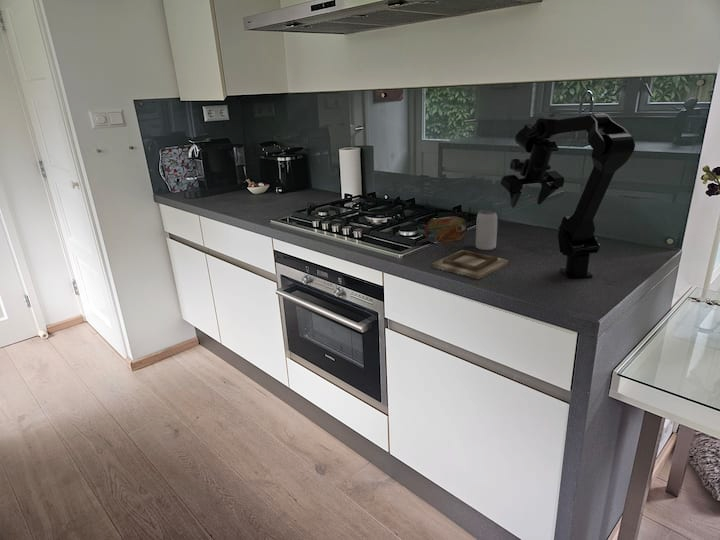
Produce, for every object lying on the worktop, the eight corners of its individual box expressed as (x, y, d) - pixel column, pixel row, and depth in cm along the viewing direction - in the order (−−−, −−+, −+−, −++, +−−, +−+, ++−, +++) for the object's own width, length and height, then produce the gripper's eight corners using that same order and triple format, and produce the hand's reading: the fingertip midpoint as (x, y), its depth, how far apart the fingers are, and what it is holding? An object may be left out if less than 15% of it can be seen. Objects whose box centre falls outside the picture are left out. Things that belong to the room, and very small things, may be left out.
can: (496, 250, 156) (498, 214, 151) (475, 250, 157) (477, 214, 153) (495, 244, 162) (497, 209, 157) (475, 244, 163) (476, 209, 159)
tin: (426, 245, 164) (426, 220, 162) (423, 242, 167) (423, 218, 164) (467, 239, 168) (468, 216, 165) (463, 237, 171) (464, 214, 168)
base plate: (508, 264, 144) (508, 256, 143) (479, 279, 134) (479, 272, 133) (462, 253, 155) (462, 246, 154) (431, 267, 144) (431, 260, 144)
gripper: (551, 145, 151) (537, 190, 161) (497, 150, 147) (486, 195, 157) (572, 161, 143) (556, 207, 153) (516, 167, 139) (503, 213, 148)
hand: (525, 205), depth 153 cm, fingers open, 9 cm apart
